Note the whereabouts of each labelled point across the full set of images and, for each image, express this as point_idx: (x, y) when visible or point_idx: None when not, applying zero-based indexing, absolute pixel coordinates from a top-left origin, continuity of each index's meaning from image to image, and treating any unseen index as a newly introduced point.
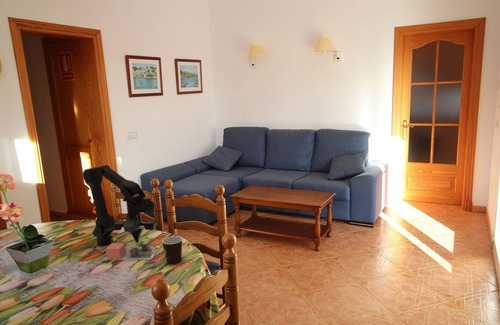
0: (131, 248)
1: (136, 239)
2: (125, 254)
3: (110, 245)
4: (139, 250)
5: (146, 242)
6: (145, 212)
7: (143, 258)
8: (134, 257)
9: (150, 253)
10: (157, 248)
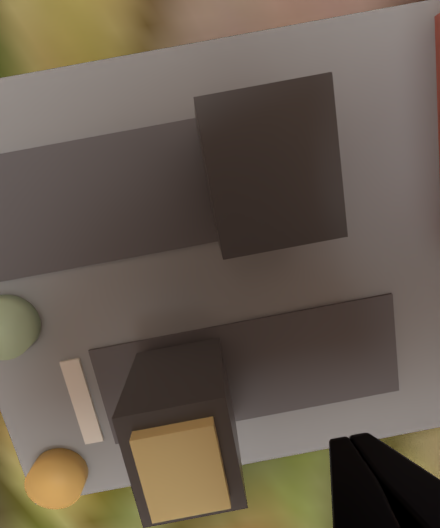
0: (430, 392)
1: (389, 499)
2: (429, 198)
3: None
4: (276, 354)
5: (156, 492)
6: None
7: (44, 107)
8: None
9: (47, 297)
10: (42, 453)
